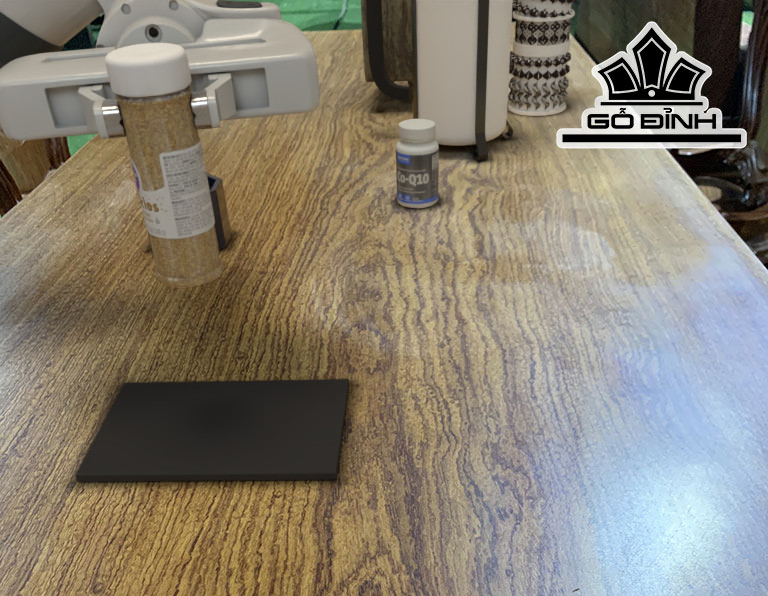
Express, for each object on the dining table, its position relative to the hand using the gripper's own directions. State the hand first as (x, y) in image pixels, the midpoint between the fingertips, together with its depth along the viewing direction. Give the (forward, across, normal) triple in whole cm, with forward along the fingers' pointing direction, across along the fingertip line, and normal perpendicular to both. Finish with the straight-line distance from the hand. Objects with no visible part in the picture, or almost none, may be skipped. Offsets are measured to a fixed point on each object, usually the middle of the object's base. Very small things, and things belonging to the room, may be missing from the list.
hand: (158, 119), depth 48 cm
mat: (+1, 0, +21) cm, 21 cm away
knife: (-99, +53, +22) cm, 114 cm away
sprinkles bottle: (-1, 0, +10) cm, 10 cm away
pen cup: (-35, -2, +21) cm, 41 cm away
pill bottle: (-40, +24, +22) cm, 51 cm away
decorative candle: (-71, +48, +22) cm, 89 cm away
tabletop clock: (-81, +30, +22) cm, 89 cm away
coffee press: (-58, +32, +22) cm, 70 cm away
